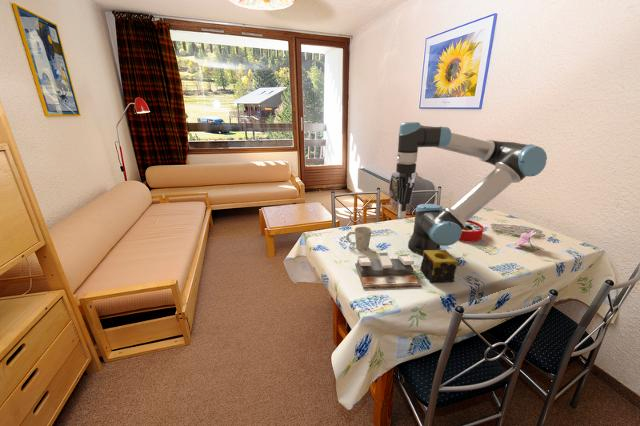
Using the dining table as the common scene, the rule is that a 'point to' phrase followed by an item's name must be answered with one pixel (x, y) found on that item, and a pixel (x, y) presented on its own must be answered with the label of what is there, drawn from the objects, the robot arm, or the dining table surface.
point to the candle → (438, 266)
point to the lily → (525, 238)
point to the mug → (361, 237)
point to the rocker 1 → (364, 261)
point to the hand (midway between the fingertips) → (401, 217)
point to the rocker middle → (385, 260)
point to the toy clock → (471, 231)
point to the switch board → (387, 275)
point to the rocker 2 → (405, 259)
